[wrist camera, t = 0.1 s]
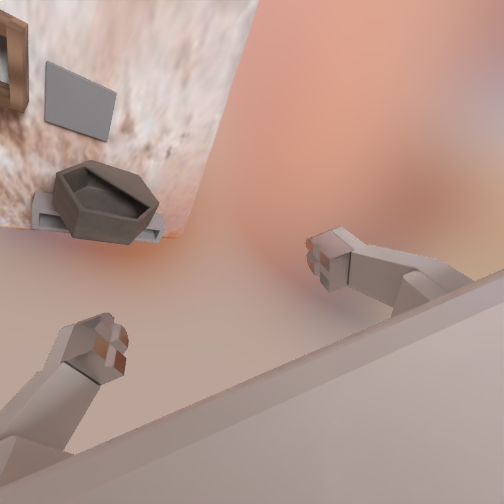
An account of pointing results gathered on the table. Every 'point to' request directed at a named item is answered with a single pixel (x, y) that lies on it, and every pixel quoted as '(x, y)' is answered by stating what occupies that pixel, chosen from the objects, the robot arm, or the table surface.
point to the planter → (103, 202)
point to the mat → (78, 103)
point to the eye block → (15, 63)
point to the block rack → (51, 221)
